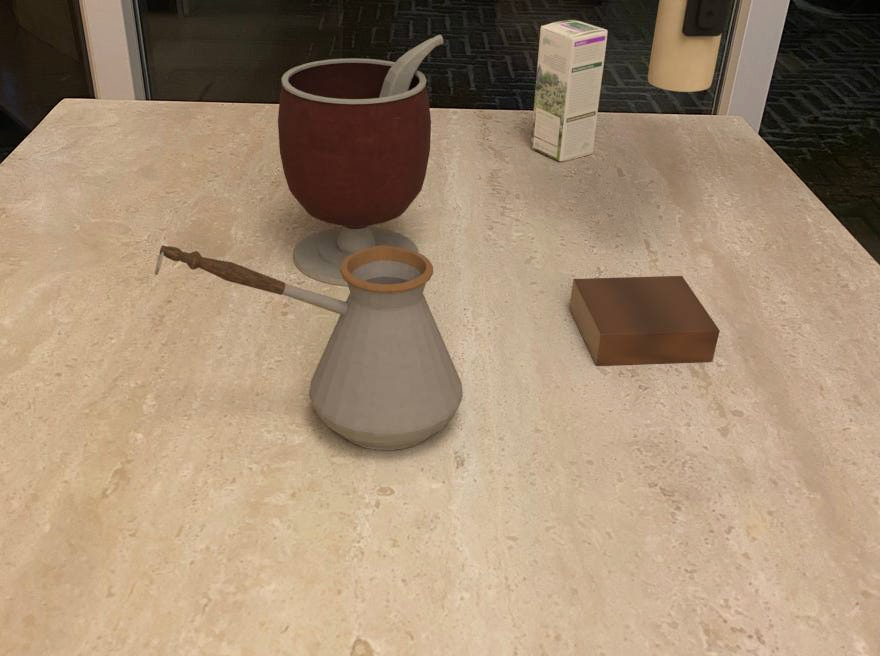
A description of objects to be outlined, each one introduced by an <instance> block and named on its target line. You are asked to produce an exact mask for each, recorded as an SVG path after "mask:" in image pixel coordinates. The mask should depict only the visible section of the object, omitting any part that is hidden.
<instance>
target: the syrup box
mask: <svg viewBox="0 0 880 656" xmlns="http://www.w3.org/2000/svg"><path fill="white" fill-rule="evenodd" d="M539 30H540V31H539V32H540V33H539V40H538V41H539V42H538V43H539V44H538V54H537V65H536V67H537V68H536V78H535V79H536V80H535V88H534V89H535V90H534V102H533V111H532V112H533V114H532V126H531V137H530V149H531V148H532V149H531V150H533V151H536V152H538V153H540V154H542V155H545V156H546V157H549V158H551V159H553V160H555V161H557V162H566V161H571V160H575V159H578V158H583V157H585V156H586V157H587V156H589V155H593V152H594V147H595V138H596V128H597V120H598V112H599V105H600V97H601V88H602V80H603V74H604V65H605V58H606V51H607V50H606V49H607V41H608V33H609V32H608V29H605V28H603V27H599V26H596V25H593V24H589V23H586V22H584V21H580V20H578V19H564V20H559V21H554V22H551V23H548V24H544V25H541V26H540V29H539Z"/></svg>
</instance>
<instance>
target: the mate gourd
mask: <svg viewBox="0 0 880 656" xmlns="http://www.w3.org/2000/svg"><path fill="white" fill-rule="evenodd" d="M443 44H444V38H443V35H442V34H438V35H435V36H433V37H432V38H429V39H427V40H425V41H423V42H421V43H419V44H418V45H416V46H414V47H413V48H411V49H410V50H408V51H406V52H405V53H404V54H402V55H401V56H400V57H399V58H397V60H396V61H389V60H383V59H374V58H358V57H357V58H356V57H355V58H352V57H351V58H332V59H324V60H316V61H312V62H308V63H303V64H300V65H297V66H295V67H292V68H290V69H289V70H287V71H285V72H284V74H283V75H282V77H281V88H280V94H279V101H278V103H279V104H278V113H277V114H278V115H277V128H278V129H277V130H278V145H279V154H280V159H281V165H282V168H283V169H282V170H283V174H284V177H285V180H286V184H287V187H288V190H289V192H290V193H291V195H292V196H293V197H294V198H295V200H296V201H297V202H298V204H299V205H300V206H301V207H302V208H303V209H304V210H305V212H306V213H307V214H308V215H309V216H311V217H312V218H314V219H316V220H318V221H321V222H323V223H326V224H332V225H337V227H331V228H326V229H322V230H319V231H316V232H313V233H312V234H309V235H308V236H306V237H304V238H303V239H301V240H300V241H298V243H297V244H296V245H295V247H294V250H293V258H294V264H295V266H296V268H297V269H298V270H299V271H300V272H301V273H302V274H304V275H306V276H307V277H309V278H310V279H314V280H316V281H318V282H322V283H326V284H329V285H334V286H335V285H336V286H342V287H348V283H347V282H346V281H345V280H344V279H343V277H342V275H341V273H340V266H341V263H342V262H343V260H344V259H345V258H346V257H348V256H349V255H351V254H353V253H355V252H358V251H360V250H364V249H367V248H370V247H375V246H380V245H385V246H393V247H398V248H404V249H408V250H411V251H415V252H417V253H419V249H418V246H417V244H415V242H414V240H412V239H411V238H409V237H407V236H406V235H404V234H402V233H399V232H397V231H394V230H391V229H386V228H383V227H377V226H376V225H380V224H384V223H388V222H390V221H393V220H395V219H397V218H399V217H400V216H402V215H403V214H404V213H405V212H406V211H407V209H408V208H409V207H410V206H411V204H412V203H413V202H414V201H415V200H416V199H417V197H418V196H419V194H420V193H421V192H422V190H423V186H424V182H425V179H426V175H427V170H428V163H429V158H430V153H431V137H432V136H431V135H432V134H431V133H432V117H431V107H430V99H429V94H428V89H427V78H426V76H425V74H424V73H423V72H421V70H418V68H419V67H420V65H421V63H422V62H423V60H424V59H425V58H426V57H427V56H428V55H429V54H430V53H431V52H432V51H433V50H434V49H435V48H436V47H439V46H441V45H443ZM374 225H375V226H376V227H375V226H374ZM419 254H420V253H419Z"/></svg>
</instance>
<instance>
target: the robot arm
mask: <svg viewBox="0 0 880 656" xmlns="http://www.w3.org/2000/svg"><path fill="white" fill-rule="evenodd" d="M728 5H729V0H687V5H686V11H685V16H684V22H683V28H682V32H683V34H684V35H685V36H719V35H721V33H722V34H723V31H724V25H725V21H726V15H727V10H728ZM721 36H722V35H721Z"/></svg>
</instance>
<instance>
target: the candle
mask: <svg viewBox="0 0 880 656" xmlns="http://www.w3.org/2000/svg"><path fill="white" fill-rule="evenodd" d="M686 5H687V0H659V1H658V8H657V13H656V20H655V27H654V33H653V40H652V46H651V52H650V58H649V65H648V72H647V82H648V83H649V84H650V85H651V86H653V87H656V88H659V89H662V90H666V91H671V92H679V93H681V92H683V93H692V92H694V93H695V92H701V91H705V90H708V89H710V88H711V86H712V83H713V79H714V75H715V71H716V65H717V60H718V56H719V55H718V54H719V50H720V44H721V39H722V35H723V32H722V33H721V35H719V36H685V35H684V34H683V32H682V28H683V22H684V16H685V11H686Z"/></svg>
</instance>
